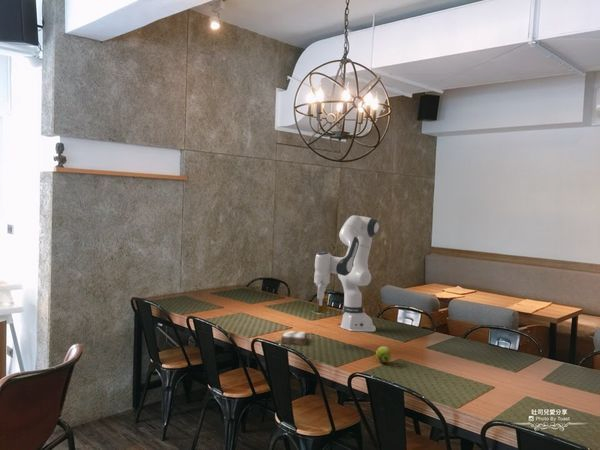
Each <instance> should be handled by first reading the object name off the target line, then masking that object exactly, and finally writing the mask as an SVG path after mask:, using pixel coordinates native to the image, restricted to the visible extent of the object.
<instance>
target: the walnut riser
mask: <svg viewBox="0 0 600 450" xmlns="http://www.w3.org/2000/svg"><path fill="white" fill-rule="evenodd" d="M307 335H308V333H307V332H306V331H298V330H297V331H296V330H284V332H283V334H282V335H281V342H280V343H281V344H285V345H298V346H299V345H301V346H305V345H306V342H307Z"/></svg>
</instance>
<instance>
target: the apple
mask: <svg viewBox="0 0 600 450" xmlns="http://www.w3.org/2000/svg"><path fill="white" fill-rule="evenodd" d="M375 358H376V360H377V361H378V362H380V363H382V364H384V363H385V364H386V363H388V362H389V361H390V360H391V358H392V352H391V349H390V348H389V347H388V346H383V345H381V346H380V347H378V348H377V349H376V352H375Z"/></svg>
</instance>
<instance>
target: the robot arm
mask: <svg viewBox="0 0 600 450" xmlns="http://www.w3.org/2000/svg"><path fill="white" fill-rule="evenodd" d="M379 228H380V223H379V220H377V219H376V218H373V217H368V216H363V215H362V216H361V215H355V214H353V215H352V214H351V215H348V216H347V217H346V219H345V221H344V223H343V225H342V227H341V228H340V231H339V233H338V235H339V239H340V241H341V243H342V244H343V245H346V246H347V247H348V248H347V251H346V253H345V256H342V257H340V256H339V257H338V256H333V255H331V253H330V252H329V251H327V250H321V251H317V253H316V255H315V259H314V270H315V271H314V273H313V274H314V277H313V278H314V279H313V283H315V286H316V287H317V291H316V292H317V296H316V298H317V299H319V305H320V306H322V302H323V299H324V292H325V291H326V289H327V287H328V285H329V284H330V280H331V278H330V277H331V274H335V275H337V277H338V279H339V280H340V283H341V285H342V288H343V293H344V297H343V300H344V301H343V306H342V319H341V323H340V328H342V329H343V330H346V331H349V332H367V333H368V332H371V333H372V332H376V330H377V327H376V326H375V325H374V323H373V319H372V317H370V316H369V315H368V314H366V308H365V307H364V306H362V299H363V298H362V297H363V294H362V291H361V290H360V289H359V286H360V287H364V286H365V287H366V286H368V285H369V284H370V283H371V280H372V274H371V272H370V270H369V266H368V265H369V264H368V262H369V256H370V251H371V247H372V243H373V241H372V240H373V237H374V236H376V234H378V232H379ZM317 299H316V300H317Z"/></svg>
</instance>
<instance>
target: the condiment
mask: <svg viewBox="0 0 600 450" xmlns="http://www.w3.org/2000/svg"><path fill="white" fill-rule="evenodd" d="M328 297H329V296H328V291H326V290H325V292H324V299H323V302H322V306H320V305H319V299H316V310H311V313H313V314H317V315H322V314H330V312H329V311H328V302H329V301H328V300H329V298H328Z"/></svg>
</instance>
